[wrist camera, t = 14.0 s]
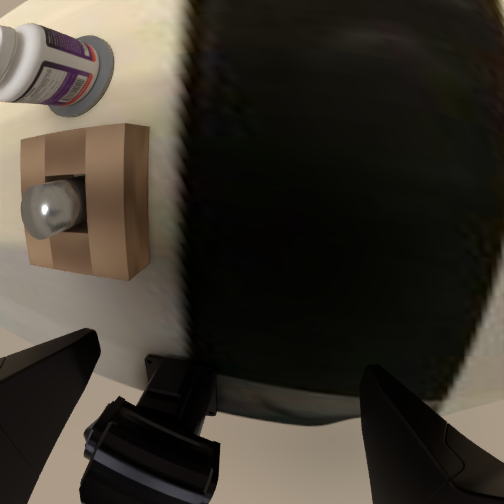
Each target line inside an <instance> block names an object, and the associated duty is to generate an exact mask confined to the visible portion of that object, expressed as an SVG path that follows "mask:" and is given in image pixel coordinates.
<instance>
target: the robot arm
mask: <svg viewBox="0 0 504 504" xmlns="http://www.w3.org/2000/svg"><path fill="white" fill-rule="evenodd" d="M100 353H101V348H100V344H99V340H98V336H97V333H96V331H95V330H93V329H89V328H83V329H80V330H78V331H75V332H72V333H70V334H67V335H64V336H61V337H59V338H56V339H53V340H50V341H47V342H45V343H42V344H39V345H36V346H34V347H31V348H28V349H25V350H22V351H20V352H17V353H14V354H11V355H8V356H7V357H2V358H0V504H27V503H28V501H29V498H30V496H31V494H32V491H33V489H34V487H35V485H36V482H37V480H38V478H39V475H40V474H41V472H42V470H43V467H44V465H45V463H46V461H47V459H48V457H49V455H50V453H51V451H52V449H53V447H54V445H55V443H56V441H57V439H58V437H59V436H60V434H61V432H62V430H63V428H64V426H65V424H66V422H67V420H68V419H69V417H70V414H71V413H72V411H73V409H74V407H75V406H76V404H77V402H78V400H79V399H80V397H81V395H82V393H83V391H84V390H85V388H86V385H87V383H88V381H89V379H90V377H91V374H92V372H93V370H94V368H95V365H96V363H97V361H98V359H99V357H100ZM150 360H151V361H150ZM145 366H146V371H147V376H148V381H149V383H148V385H147V387H146V389H145V391H144V393H143V394H142V396H141V398H140V400H139V402H138V403H137V405H136V406H134V405H132V404H131V403H129V402H127V401H125V399H124V398H122V397H120V396H119V397H118V398H117V399H116V400H115V402H114V401H113V402H112V403H111V404H108V405H107V406H106V408H105V410H104V411H103V413H102V414H101V416H100V417H99V418H98V419H97V420H96V421H94V422H93V423H92V424H91V425H90V426H89V427H88V428H87V429H86V430H85V432H84V438H85V440H86V444H85V451H84V457H85V458H87V459H88V460H90V461H89V464H88V466H87V468H86V470H85V473H84V475H83V477H82V479H81V483H80V484H81V486H80V488H79V492H80V499H81V503H82V504H208V503H209V502H210V500H211V498H212V496H213V494H214V491H215V489H216V486H217V481H218V476H219V458H220V443H218V442H216V441H210V440H208V439H205V438H203V437H200V433H201V429H202V426H203V423H204V419H205V416H206V415H207V416H215V415H216V413H217V388H216V368H215V367H213V366H211V365H205V364H198V363H192V362H186V361H180V360H175V359H169V358H164V357H159V356H154V355H147V356H146V358H145ZM208 370H210V371H212V372H209V371H208ZM359 395H360V409H361V426H362V434H363V440H364V446H365V452H366V458H367V464H368V471H369V478H370V485H371V493H372V501H373V504H504V463H503V462H501V461H500V460H498V459H497V458H495V457H494V456H492V455H491V454H489V453H488V452H486V451H485V450H483V449H482V448H480V447H479V446H477V445H476V444H475V443H473V442H472V441H470V440H469V439H468V438H466V437H465V436H464V435H462V434H461V433H460V432H458V431H457V430H456V429H455V428H454V427H452V426H451V425H450V424H447V421H445V420H444V419H443V418H442V417H441V416H439V415H438V414H437V413H436V412H435V411H434V410H432V409H431V408H430V407H429V406H428V405H427V404H425V403H424V402H423V401H422V400H421V399H419V398H418V397H417V396H416V395H415V394H414V393H412V392H411V391H410V390H409V389H408V388H406V387H405V386H404V385H403V384H402V383H401V382H399V381H398V380H397V379H396V378H395V377H394V376H392V375H391V374H390V373H389V372H388V371H386V370H385V369H384V368H383V367H382V366H380V365H367V366H366V368H365V371H364V374H363V376H362V379H361V382H360V386H359Z"/></svg>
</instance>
